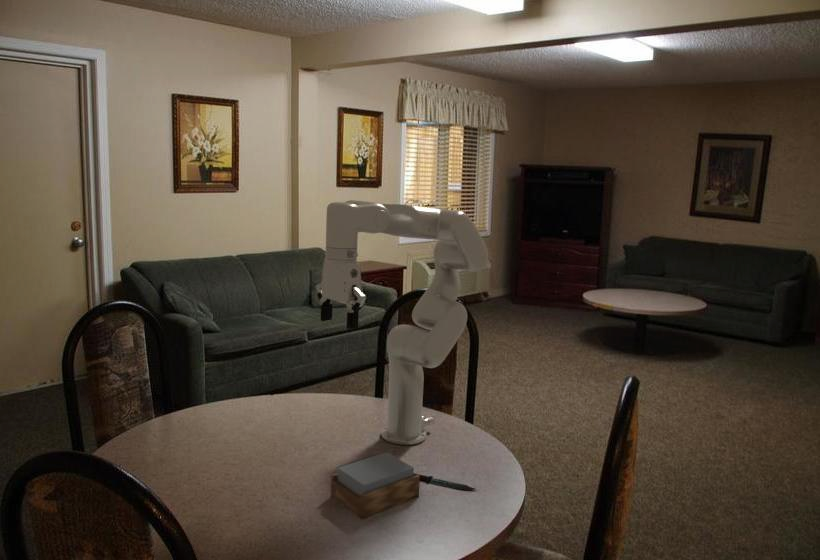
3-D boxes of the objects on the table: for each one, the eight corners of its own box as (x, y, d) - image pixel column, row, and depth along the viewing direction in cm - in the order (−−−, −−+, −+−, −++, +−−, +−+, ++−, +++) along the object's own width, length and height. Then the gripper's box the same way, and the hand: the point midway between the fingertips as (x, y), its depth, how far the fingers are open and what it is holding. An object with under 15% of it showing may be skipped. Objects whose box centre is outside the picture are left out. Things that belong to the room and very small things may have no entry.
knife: (393, 473, 157) (398, 467, 160) (393, 478, 157) (398, 472, 160) (476, 490, 150) (479, 484, 152) (475, 496, 150) (479, 489, 153)
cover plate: (386, 464, 154) (386, 452, 154) (413, 480, 147) (413, 467, 146) (337, 480, 145) (337, 468, 145) (363, 498, 138) (363, 485, 137)
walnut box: (386, 476, 156) (386, 456, 156) (418, 497, 148) (419, 475, 147) (330, 496, 146) (331, 474, 145) (362, 519, 137) (362, 496, 136)
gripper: (377, 258, 152) (374, 329, 154) (330, 249, 163) (328, 315, 166) (353, 260, 146) (350, 333, 149) (306, 251, 158) (304, 319, 161)
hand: (339, 324), depth 158 cm, fingers open, 9 cm apart
